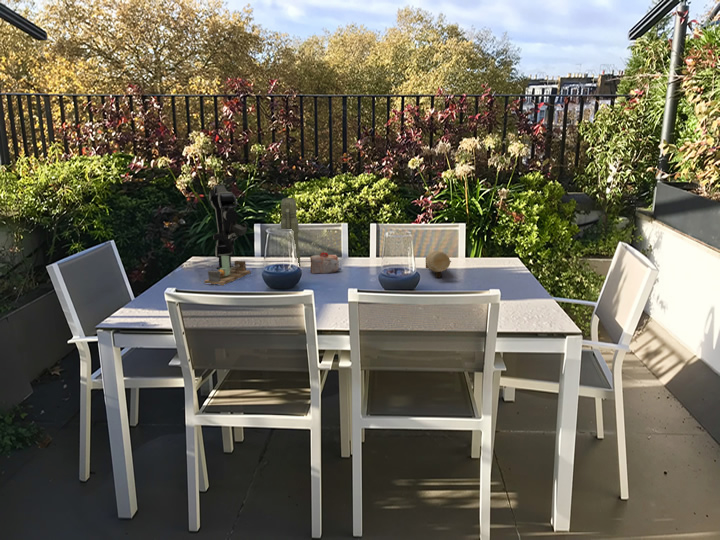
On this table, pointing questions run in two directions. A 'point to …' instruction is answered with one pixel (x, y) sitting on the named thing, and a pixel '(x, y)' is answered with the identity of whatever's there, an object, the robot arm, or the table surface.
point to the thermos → (290, 219)
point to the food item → (324, 263)
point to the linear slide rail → (235, 273)
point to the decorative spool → (437, 262)
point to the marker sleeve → (225, 265)
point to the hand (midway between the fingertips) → (230, 251)
